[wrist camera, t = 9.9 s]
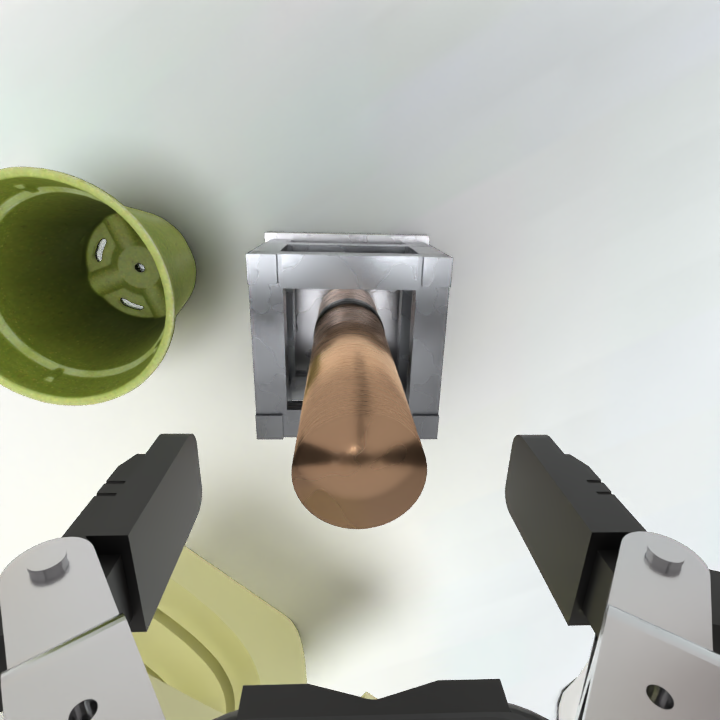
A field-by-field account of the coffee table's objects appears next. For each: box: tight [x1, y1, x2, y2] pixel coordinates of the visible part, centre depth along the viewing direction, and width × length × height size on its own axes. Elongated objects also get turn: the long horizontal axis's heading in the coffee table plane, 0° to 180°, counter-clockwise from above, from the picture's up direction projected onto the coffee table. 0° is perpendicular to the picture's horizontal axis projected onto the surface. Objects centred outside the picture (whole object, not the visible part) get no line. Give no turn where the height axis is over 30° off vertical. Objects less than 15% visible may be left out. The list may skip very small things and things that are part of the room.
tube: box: [292, 289, 427, 529], centre depth 19 cm, size 4×4×16 cm
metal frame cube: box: [246, 232, 453, 439], centre depth 24 cm, size 9×9×8 cm
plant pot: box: [0, 167, 196, 406], centre depth 22 cm, size 9×9×9 cm
